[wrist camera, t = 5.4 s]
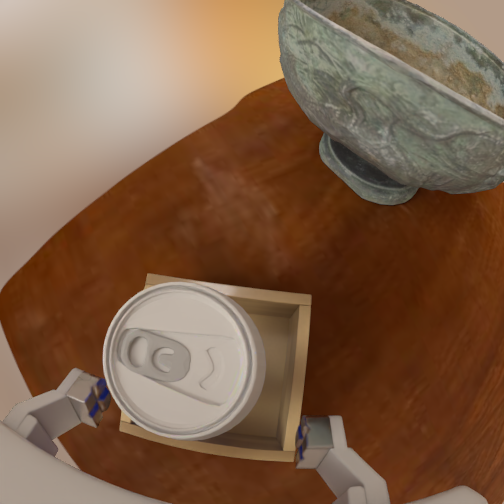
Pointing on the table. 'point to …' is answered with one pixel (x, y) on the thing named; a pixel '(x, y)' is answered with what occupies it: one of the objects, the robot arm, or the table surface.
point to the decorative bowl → (395, 96)
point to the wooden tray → (275, 384)
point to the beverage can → (184, 361)
